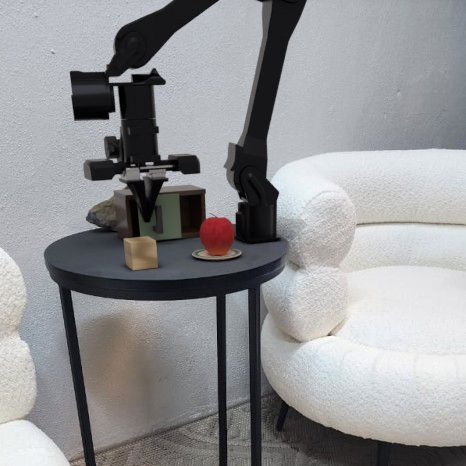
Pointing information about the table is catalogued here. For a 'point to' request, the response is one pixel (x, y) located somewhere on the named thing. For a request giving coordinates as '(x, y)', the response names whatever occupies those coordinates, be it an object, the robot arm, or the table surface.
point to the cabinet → (188, 194)
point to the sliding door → (163, 219)
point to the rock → (104, 214)
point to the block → (140, 253)
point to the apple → (216, 239)
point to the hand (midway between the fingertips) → (146, 222)
